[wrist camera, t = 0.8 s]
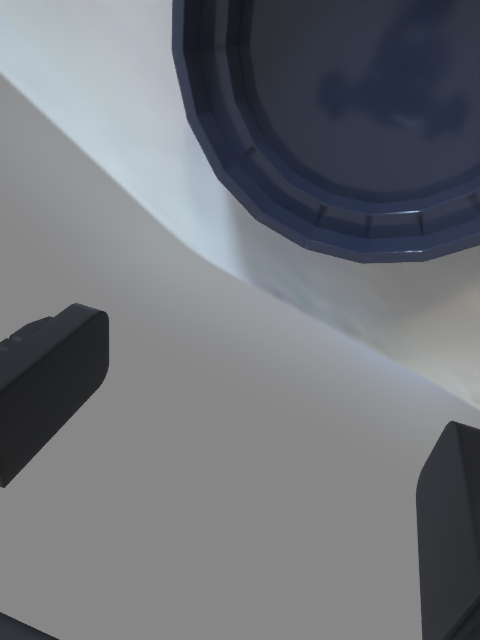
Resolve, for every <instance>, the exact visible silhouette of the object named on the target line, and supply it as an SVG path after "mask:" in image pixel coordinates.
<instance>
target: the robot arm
mask: <svg viewBox="0 0 480 640" xmlns="http://www.w3.org/2000/svg"><path fill="white" fill-rule="evenodd" d="M108 367H109V318H108V315H107V313H106V312H104V311H101V310H97V309H94V308H91V307H88V306H84V305H81V304H78V303H75V304H72V305H70V306H69V307H67V308H66V309H65V310H63V311H62V312H60V313H59V314H58V315H56V316H55V317H50V316H49V317H46V318H43V319H40V320H37V321H34V322H32V323H29V324H27V325H25V326H24V327H22V328H21V329H19V330H18V331H16V332H15V333H13V334H12V335H10V338H9V339H7V338H6V339H5V340H3V341H2V342H0V487H3V488H5V487H6V486H7V485H8V484H9V483H10V481H11V480H12V479H13V478H14V477H15V476H16V475H17V474H18V473H19V472H20V471H21V470H22V469H23V468H24V467H25V466H26V464H27V463H28V462H29V461H30V460H31V459H32V458H33V457H34V456H35V455H36V454H37V453H38V452H39V451H40V450H41V449H42V447H43V446H44V445H45V444H46V443H47V442H48V441H49V440H50V439H51V438H52V437H53V436H54V435H55V434H56V433H57V432H58V430H59V429H60V428H61V427H62V426H63V425H64V424H65V423H66V422H67V421H68V420H69V419H70V418H71V417H72V416H73V414H74V413H75V412H76V411H77V410H78V409H79V408H80V407H81V406H82V405H83V404H84V403H85V402H86V401H87V399H89V397H90V396H91V395H92V394H93V393H94V392H95V391H96V390H97V389H98V388H99V387H100V385H101V384H102V382H103V381H104V379H105V376H106V374H107V371H108ZM416 509H417V531H418V552H419V573H420V595H421V617H422V638H423V640H480V429H477V428H474V427H471V426H467V425H464V424H461V423H458V422H454V421H450V422H449V423H448V424H447V425H446V427H445V429H444V430H443V432H442V434H441V436H440V438H439V439H438V441H437V443H436V445H435V447H434V448H433V450H432V452H431V454H430V456H429V457H428V459H427V461H426V463H425V465H424V467H423V468H422V471H421V473H420V476H419V479H418V484H417V490H416ZM0 640H59V639H57V638H55V637H52V636H50V635H48V634H46V633H43V632H41V631H39V630H37V629H35V628H33V627H31V626H29V625H27V624H24V623H22V622H20V621H18V620H16V619H14V618H12V617H9V616H7V615H5V614H3V613H1V612H0Z"/></svg>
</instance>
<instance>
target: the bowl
mask: <svg viewBox="0 0 480 640" xmlns="http://www.w3.org/2000/svg"><path fill="white" fill-rule="evenodd" d="M172 51H173V52H172V55H173V59H174V64H175V68H176V73H177V77H178V81H179V86H180V90H181V95H182V99H183V103H184V108H185V112H186V117H187V120H188V123H189V125H190V127H191V129H192V131H193V133H194V135H195V137H196V138H197V140H198V142H199V144H200V146H201V148H202V150H203V152H204V154H205V156H206V158H207V160H208V162H209V164H210V166H211V167H212V169H213V171H214V173H215V175H216V177H217V179H218V180H219V181H220V182H221V183H222V184H223V185H224V186H225V187H226V188H227V189H228V190H229V191H230V192H231V194H232V195H233V196H234V197H235V198H236V199H237V200H238V201H239V202H240V203H241V204H242V205H243V206H244V208H245V209H246V210H247V211H248V212H249V213H250V214H251V215H252V216H253V217H254V218H255V219H256V220H257V221H259V222H261V223H262V224H264V225H266V226H267V227H269V228H271V229H272V230H274V231H276V232H277V233H279V234H281V235H282V236H284V237H286V238H287V239H289V240H291V241H292V242H294V243H296V244H298V245H299V246H301V247H303V248H306V249H307V250H311V251H315V252H319V253H323V254H327V255H331V256H335V257H339V258H342V259H346V260H350V261H354V262H358V263H394V262H424V261H428V260H431V259H435V258H438V257H441V256H445V255H448V254H451V253H454V252H458V251H461V250H464V249H468V248H471V247H474V246H478V245H480V0H173V3H172Z"/></svg>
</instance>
